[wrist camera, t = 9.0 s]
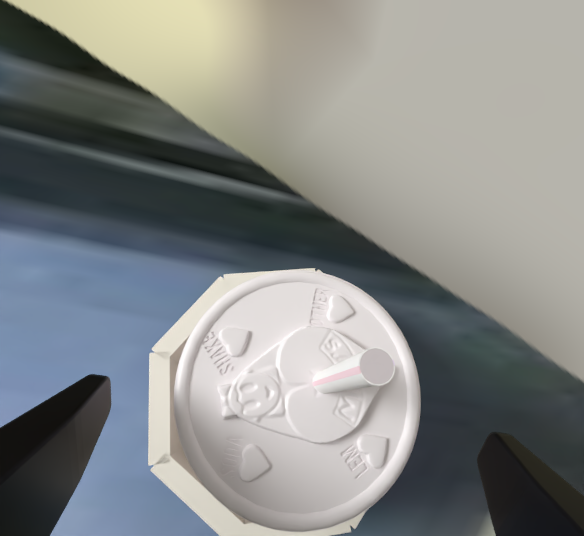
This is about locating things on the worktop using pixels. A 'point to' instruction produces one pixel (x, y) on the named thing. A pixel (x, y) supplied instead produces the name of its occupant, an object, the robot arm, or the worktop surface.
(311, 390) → the smoothie
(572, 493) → the robot arm
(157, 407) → the bowl
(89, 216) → the worktop surface
